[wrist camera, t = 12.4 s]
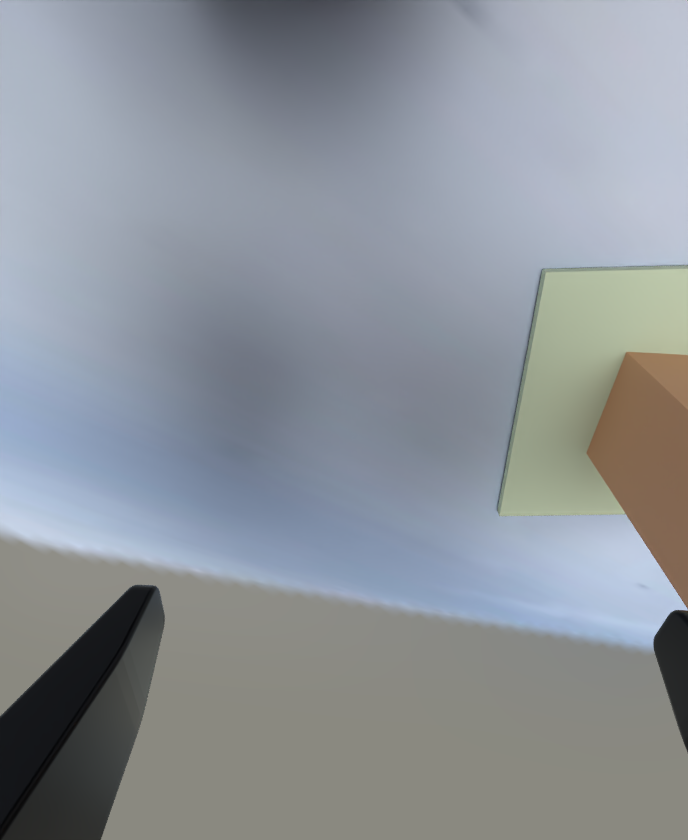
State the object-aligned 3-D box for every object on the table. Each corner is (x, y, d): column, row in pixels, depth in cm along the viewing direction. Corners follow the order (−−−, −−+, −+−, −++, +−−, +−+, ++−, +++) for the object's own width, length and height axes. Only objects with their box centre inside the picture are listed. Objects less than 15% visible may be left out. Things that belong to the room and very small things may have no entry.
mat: (542, 268, 18) (545, 272, 18) (877, 260, 18) (887, 263, 18) (497, 510, 25) (499, 516, 25) (742, 506, 25) (748, 512, 24)
